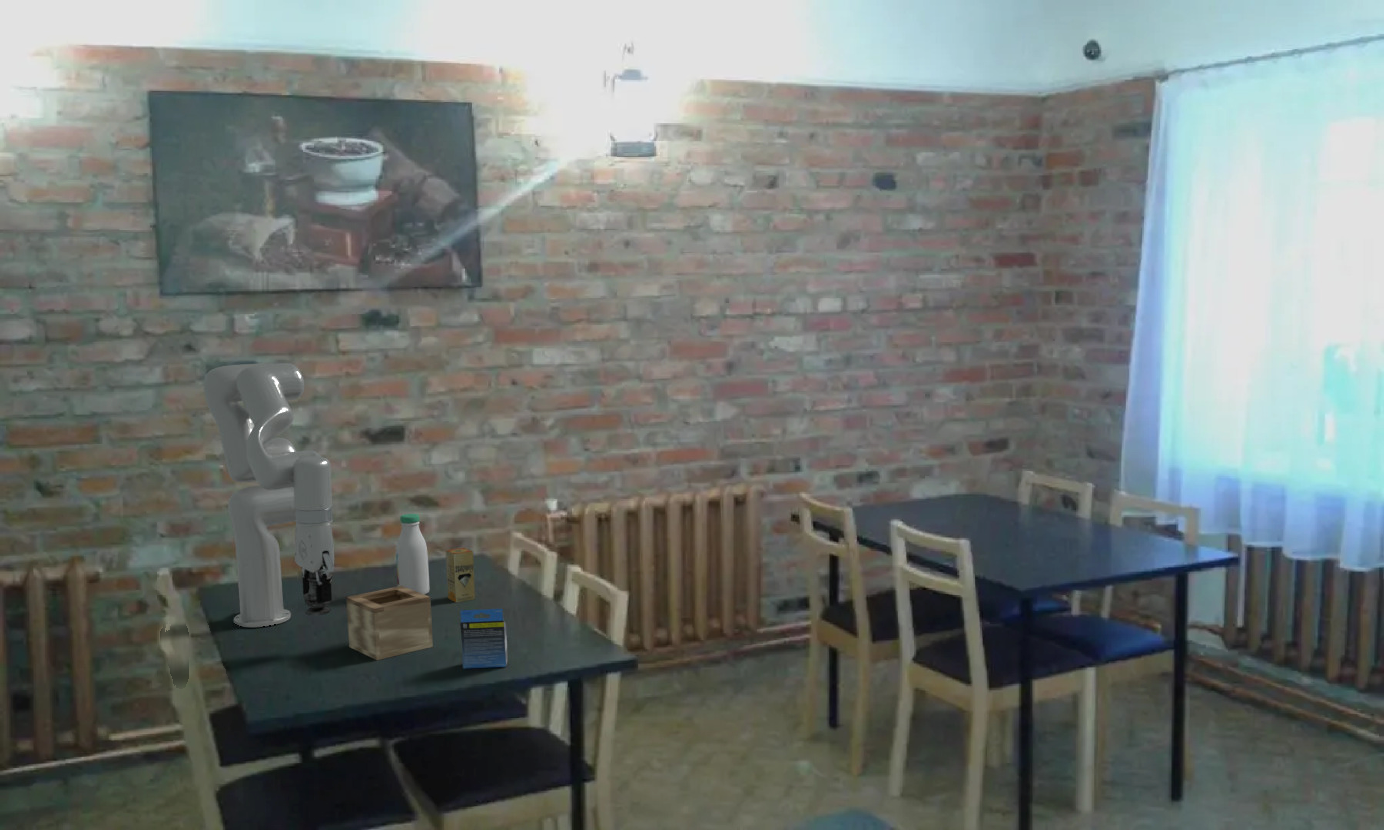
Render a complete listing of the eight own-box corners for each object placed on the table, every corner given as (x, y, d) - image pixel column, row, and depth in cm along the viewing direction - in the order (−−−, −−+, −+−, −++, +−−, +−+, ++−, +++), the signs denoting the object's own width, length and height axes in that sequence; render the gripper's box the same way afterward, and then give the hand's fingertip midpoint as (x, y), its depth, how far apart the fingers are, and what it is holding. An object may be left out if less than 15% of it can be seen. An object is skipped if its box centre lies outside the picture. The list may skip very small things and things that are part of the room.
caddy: (349, 646, 268) (346, 597, 266) (403, 634, 276) (401, 585, 275) (376, 660, 258) (374, 608, 257) (432, 646, 266) (430, 596, 265)
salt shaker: (323, 616, 262) (321, 561, 260) (298, 614, 263) (295, 559, 261) (337, 608, 267) (335, 554, 265) (312, 606, 268) (309, 552, 267)
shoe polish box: (475, 599, 304) (472, 551, 303) (456, 602, 301) (453, 554, 300) (466, 595, 308) (464, 547, 307) (448, 598, 306) (445, 550, 304)
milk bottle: (436, 591, 312) (432, 513, 310) (413, 599, 305) (409, 519, 303) (413, 588, 316) (409, 511, 314) (391, 595, 310) (387, 516, 307)
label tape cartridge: (508, 661, 255) (505, 603, 254) (506, 667, 251) (503, 608, 250) (464, 663, 255) (462, 604, 253) (462, 669, 251) (459, 609, 249)
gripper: (280, 510, 266) (283, 592, 269) (314, 526, 253) (317, 611, 256) (313, 505, 271) (317, 585, 273) (348, 520, 258) (352, 604, 261)
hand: (317, 597), depth 265 cm, fingers closed on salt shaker, 5 cm apart
